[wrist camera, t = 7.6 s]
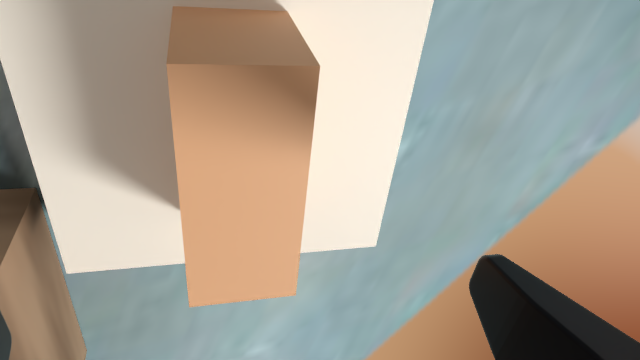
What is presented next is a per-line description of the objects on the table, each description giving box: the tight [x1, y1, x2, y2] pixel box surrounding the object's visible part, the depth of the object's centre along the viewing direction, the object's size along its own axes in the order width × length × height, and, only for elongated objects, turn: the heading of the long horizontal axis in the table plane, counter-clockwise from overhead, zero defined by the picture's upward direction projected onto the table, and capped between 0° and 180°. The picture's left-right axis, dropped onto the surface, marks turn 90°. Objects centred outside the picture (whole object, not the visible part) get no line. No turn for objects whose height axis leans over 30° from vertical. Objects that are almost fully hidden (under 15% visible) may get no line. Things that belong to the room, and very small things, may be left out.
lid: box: [0, 0, 434, 307], centre depth 13 cm, size 12×12×6 cm
